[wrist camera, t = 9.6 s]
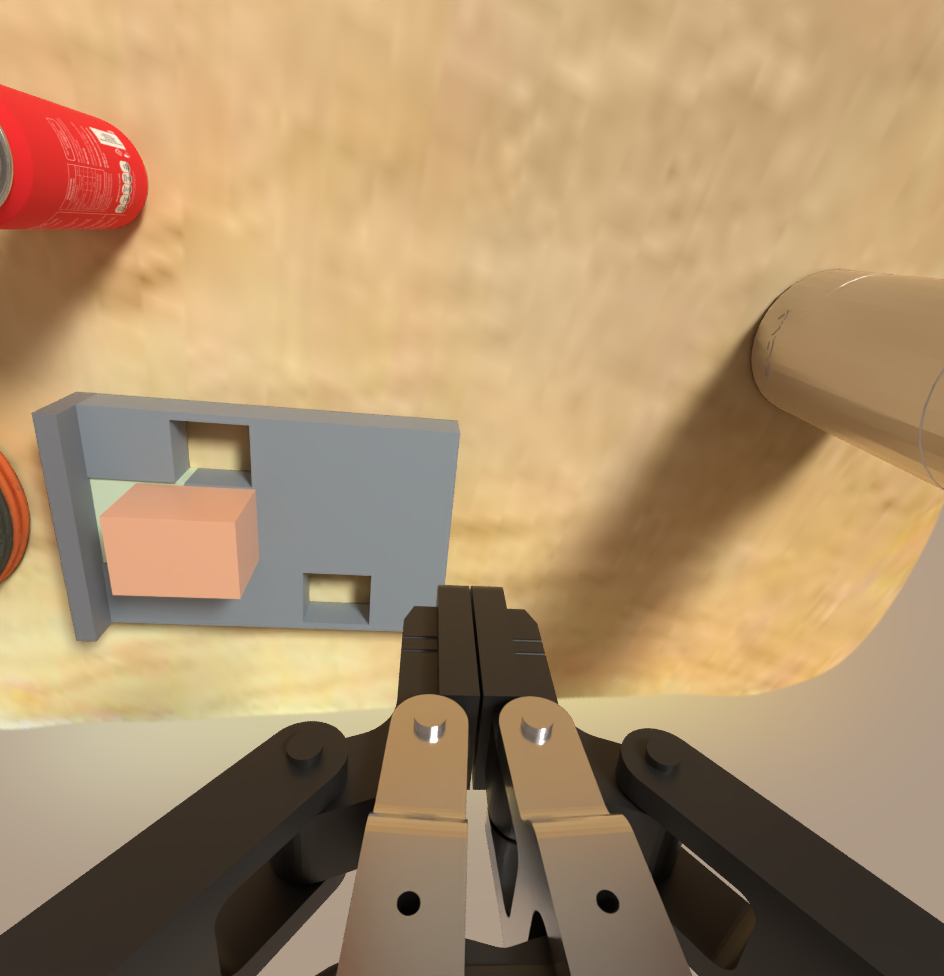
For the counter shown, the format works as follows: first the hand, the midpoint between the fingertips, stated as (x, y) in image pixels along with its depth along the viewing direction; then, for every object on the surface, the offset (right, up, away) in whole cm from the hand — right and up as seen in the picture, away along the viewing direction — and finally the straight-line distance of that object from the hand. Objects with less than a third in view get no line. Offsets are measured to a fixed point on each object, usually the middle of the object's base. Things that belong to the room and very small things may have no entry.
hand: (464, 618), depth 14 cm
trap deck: (-12, +1, +26) cm, 29 cm away
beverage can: (-19, +20, +18) cm, 33 cm away
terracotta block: (-17, +1, +23) cm, 29 cm away
